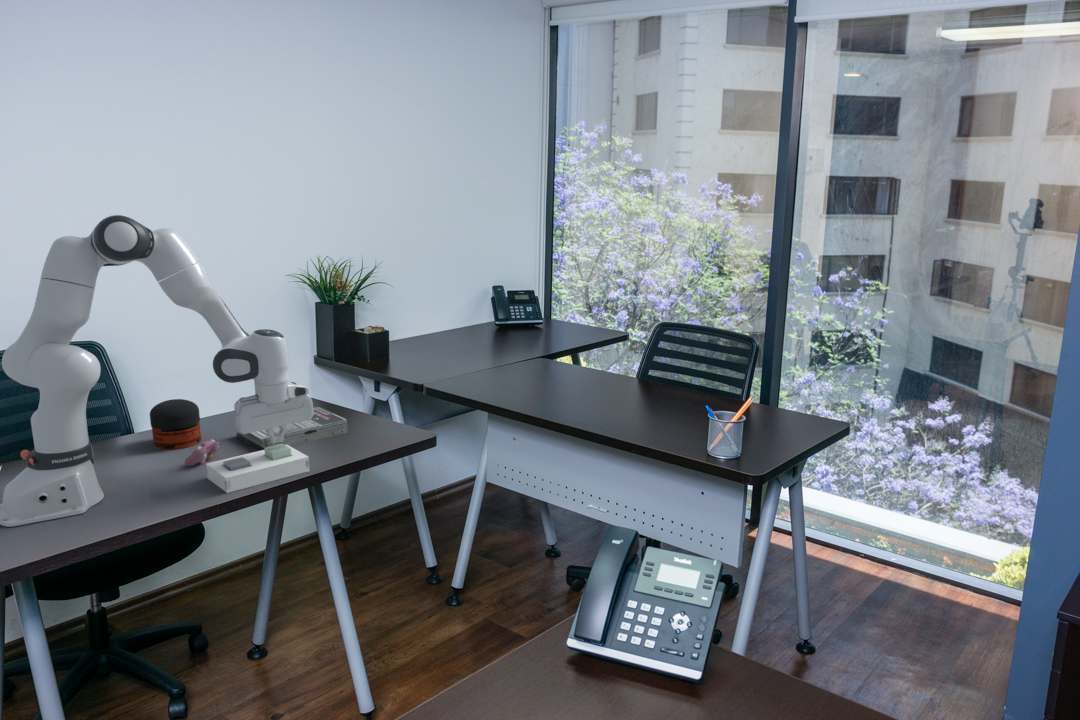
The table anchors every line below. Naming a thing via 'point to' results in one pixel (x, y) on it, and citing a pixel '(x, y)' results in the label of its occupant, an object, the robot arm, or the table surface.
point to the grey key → (236, 464)
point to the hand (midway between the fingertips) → (277, 442)
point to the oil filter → (175, 424)
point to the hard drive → (301, 430)
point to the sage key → (277, 452)
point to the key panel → (256, 470)
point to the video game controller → (203, 452)
